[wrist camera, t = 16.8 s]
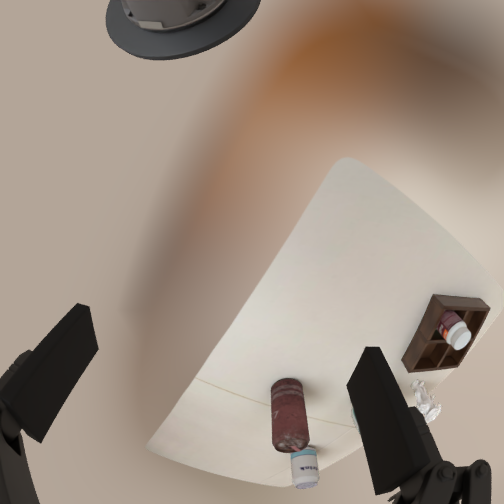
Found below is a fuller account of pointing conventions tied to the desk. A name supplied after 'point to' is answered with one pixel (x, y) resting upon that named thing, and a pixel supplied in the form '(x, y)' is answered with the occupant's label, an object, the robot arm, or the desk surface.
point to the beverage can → (304, 468)
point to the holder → (432, 342)
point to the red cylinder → (289, 416)
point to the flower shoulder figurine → (425, 401)
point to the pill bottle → (453, 330)
